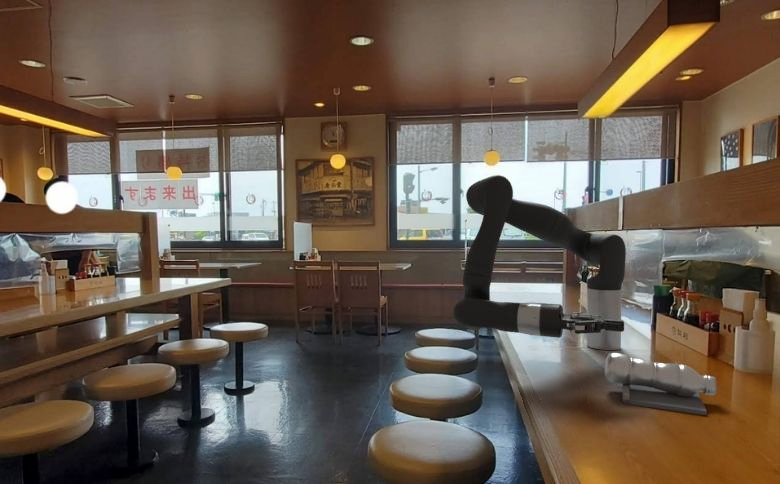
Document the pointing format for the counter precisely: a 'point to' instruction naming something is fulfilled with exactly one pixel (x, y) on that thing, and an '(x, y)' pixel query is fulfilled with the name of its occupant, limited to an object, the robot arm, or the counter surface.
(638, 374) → the silver aluminum bottle
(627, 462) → the counter surface
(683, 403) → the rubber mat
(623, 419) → the counter surface
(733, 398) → the counter surface
